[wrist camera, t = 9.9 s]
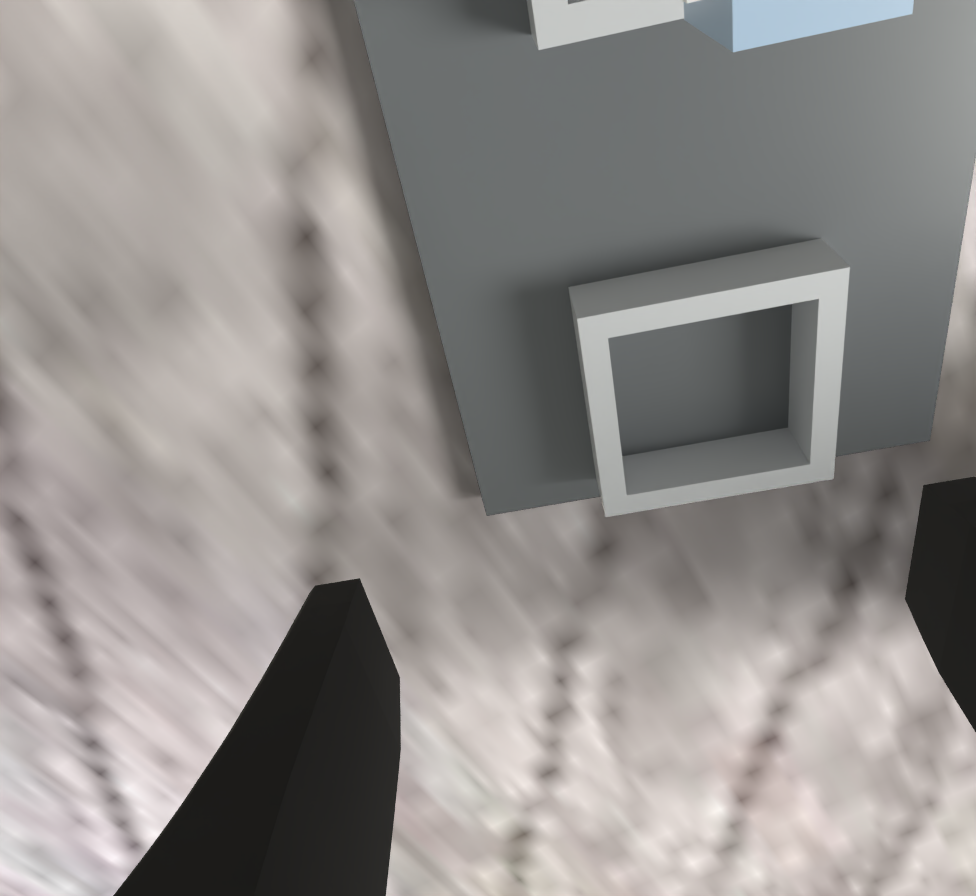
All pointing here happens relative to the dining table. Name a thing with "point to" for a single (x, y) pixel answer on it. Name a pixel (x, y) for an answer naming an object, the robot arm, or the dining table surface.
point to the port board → (678, 237)
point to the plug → (784, 18)
